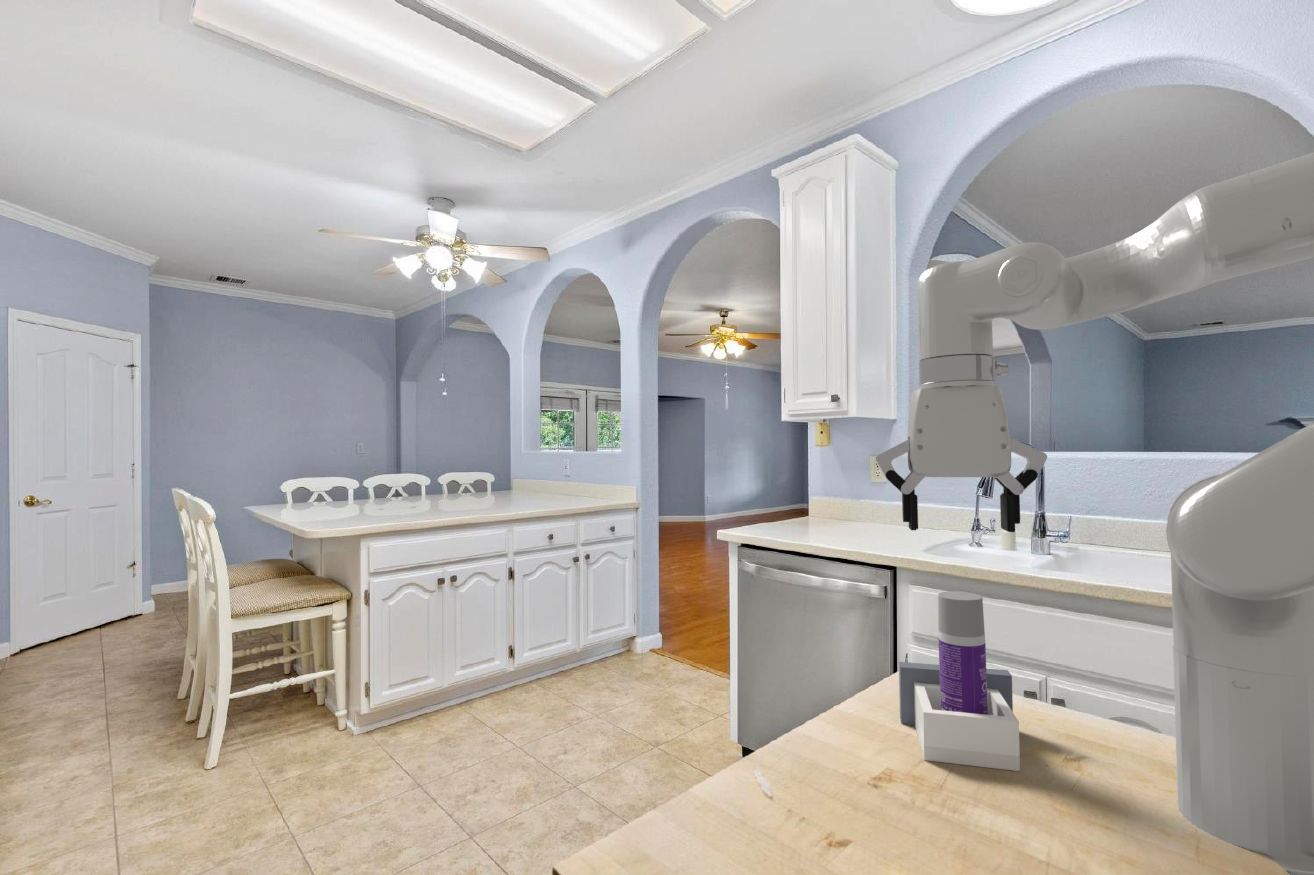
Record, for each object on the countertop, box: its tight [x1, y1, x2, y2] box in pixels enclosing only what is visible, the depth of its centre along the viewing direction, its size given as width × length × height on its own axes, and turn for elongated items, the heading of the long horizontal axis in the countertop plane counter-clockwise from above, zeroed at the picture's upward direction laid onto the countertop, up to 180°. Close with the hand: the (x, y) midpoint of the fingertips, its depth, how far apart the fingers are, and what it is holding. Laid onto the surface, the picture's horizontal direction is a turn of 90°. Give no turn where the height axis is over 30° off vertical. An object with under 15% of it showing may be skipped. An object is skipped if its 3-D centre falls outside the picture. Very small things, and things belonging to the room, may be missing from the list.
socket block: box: [914, 683, 1021, 772], centre depth 70 cm, size 9×9×5 cm
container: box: [937, 590, 988, 715], centre depth 70 cm, size 5×5×15 cm
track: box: [898, 661, 1014, 726], centre depth 67 cm, size 12×19×8 cm, turn 164°
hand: (959, 529), depth 70 cm, fingers open, 9 cm apart
